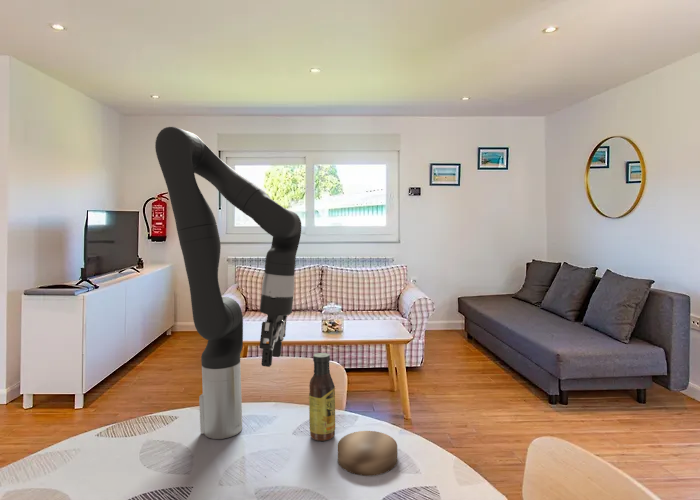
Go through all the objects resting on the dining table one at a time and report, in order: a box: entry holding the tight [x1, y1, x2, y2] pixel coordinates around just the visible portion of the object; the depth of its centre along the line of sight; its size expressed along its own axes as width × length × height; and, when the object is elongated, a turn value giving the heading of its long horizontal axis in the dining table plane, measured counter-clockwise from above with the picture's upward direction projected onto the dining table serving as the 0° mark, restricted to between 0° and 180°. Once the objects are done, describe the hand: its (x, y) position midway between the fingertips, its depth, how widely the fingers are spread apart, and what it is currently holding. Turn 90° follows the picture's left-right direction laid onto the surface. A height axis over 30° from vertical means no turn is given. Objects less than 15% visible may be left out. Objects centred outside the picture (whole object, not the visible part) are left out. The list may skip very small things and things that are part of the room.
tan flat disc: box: [337, 430, 398, 477], centre depth 94 cm, size 13×13×3 cm
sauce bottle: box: [308, 352, 336, 442], centre depth 104 cm, size 7×6×20 cm
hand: (271, 361), depth 102 cm, fingers open, 8 cm apart
